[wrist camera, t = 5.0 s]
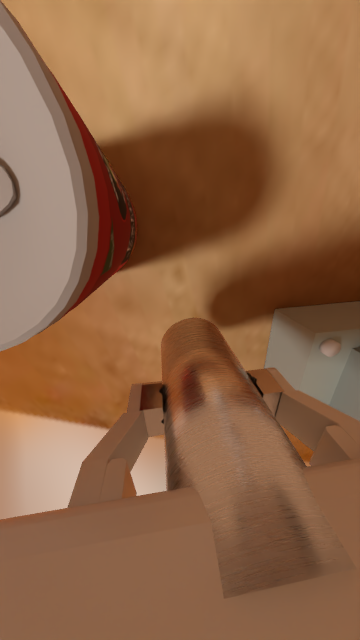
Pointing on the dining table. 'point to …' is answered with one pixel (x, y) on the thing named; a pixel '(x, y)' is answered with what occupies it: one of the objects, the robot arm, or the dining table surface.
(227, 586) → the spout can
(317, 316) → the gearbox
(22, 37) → the canned food
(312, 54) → the dining table surface
